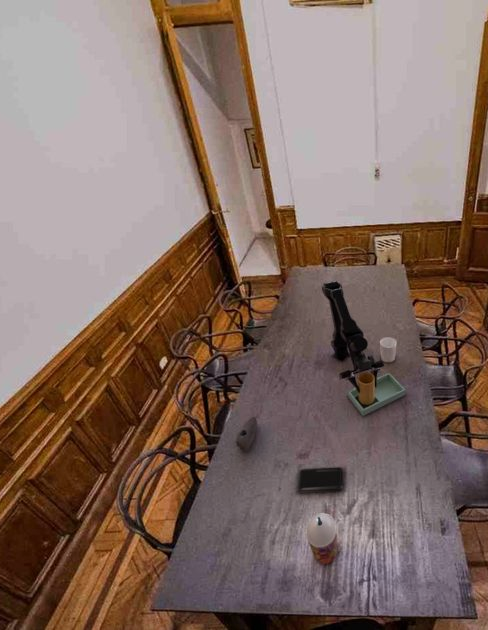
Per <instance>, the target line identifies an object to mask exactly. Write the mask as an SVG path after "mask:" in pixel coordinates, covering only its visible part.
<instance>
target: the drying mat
mask: <svg viewBox="0 0 488 630" xmlns="http://www.w3.org/2000/svg"><path fill="white" fill-rule="evenodd" d="M354 398H355V399H356V400H357V401H358V403H359V404H360V405H361V407H362V408H363V409H365V408H367V407H369V406H371V405H373V404H375V403H377V402H379V401H378V399H377V398H376V397H375V400H374V402H373V403H371V404H369V405H365V404H362V403H361V402H360V401H359V396H357V397H354Z"/></svg>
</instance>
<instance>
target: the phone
mask: <svg viewBox="0 0 488 630" xmlns="http://www.w3.org/2000/svg"><path fill="white" fill-rule="evenodd" d="M343 488H344V469H343V468H342V467H340V466H339V467H317V468H302V469H300V471H299V475H298V485H297V490H298V492H299V493H300V494H301V493H324V492H325V493H326V492H341V491H342V490H343Z"/></svg>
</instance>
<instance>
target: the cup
mask: <svg viewBox="0 0 488 630" xmlns="http://www.w3.org/2000/svg"><path fill="white" fill-rule="evenodd" d="M357 385H358V387H359V390H360V393H358V396H359V401H360V402H361V403H362V404H365V405H369V404H371V403H373V402H374V400H375V378H374V375H373V374H371V373H370V372H369V371H364V372H360V373H359V374H358V376H357Z"/></svg>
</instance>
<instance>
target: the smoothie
mask: <svg viewBox="0 0 488 630" xmlns="http://www.w3.org/2000/svg"><path fill="white" fill-rule="evenodd" d="M337 532H338V526H337V522H336V520H335V518H334V517H333V516H331V515H330V514H328V513H318V514H315V515H314V516H312V517H311V518H310V520H309V521H308V522H307V524H306V526H305V538H306V540H307V542H308V544H309V547H310V549H311V552H312V554H313V557H314V558H315V560H316V561H317V562H318V563H319V564H322V565H327V564H329V563H331V562H332V561H334V559H335V557H336V556H337V553H338V533H337Z"/></svg>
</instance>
